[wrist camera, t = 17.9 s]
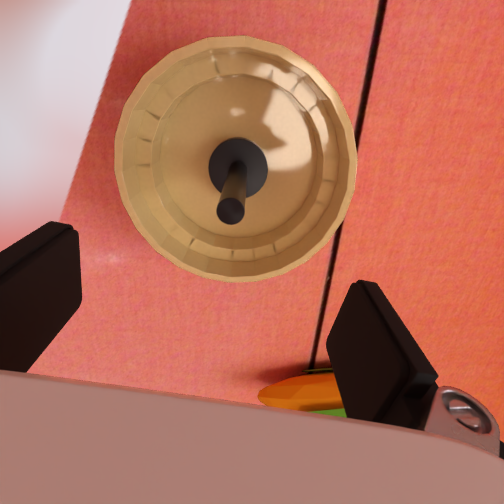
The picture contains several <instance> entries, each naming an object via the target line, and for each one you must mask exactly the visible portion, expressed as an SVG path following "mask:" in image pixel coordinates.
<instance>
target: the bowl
mask: <svg viewBox="0 0 504 504" xmlns="http://www.w3.org/2000/svg"><path fill="white" fill-rule="evenodd" d="M233 137H243V138H247V139H249V140H252V141H253V142H255V143H256V144H257V145H258V146H259V147H260V148H261V149H262V151H263V152H264V154H265V157H266V160H267V164H268V174H267V179H266V181H265V183H264V185H263V187H262V188H261V189H260V190H259V191H258V192H257V193H256V194H254V195H253V196H251V197H248V198H246V200H245V215H244V217H243V219H242V220H241V221H240V222H239V223H237V224H234V225H228V224H225V223H223V222H221V221H220V220H219V218H218V216H217V213H216V208H217V205H218V202H219V199H220V196H221V193H220V192H219V191H218V190H217V189H216V188H215V187H214V185H213V184H212V182H211V180H210V176H209V171H208V165H209V160H210V157H211V155H212V153H213V151H214V150H215V148H216V147H217V146H218V145H219V144H220V143H221V142H223V141H225V140H227V139H229V138H233ZM357 161H358V160H357V152H356V145H355V139H354V132H353V127H352V123H351V121H350V119H349V117H348V115H347V112H346V110H345V108H344V106H343V104H342V101H341V99H340V97H339V95H338V93H337V92H336V90H335V89H334V88H333V87H332V86H331V85H330V83H329V82H328V81H327V80H326V79H325V78H324V76H323V75H322V74H321V73H320V72H319V71H318V69H317V68H316V67H315V66H314V65H313V64H311V63H310V62H308V61H306V60H305V59H303V58H302V57H300V56H299V55H297V54H295V53H294V52H292V51H291V50H289V49H288V48H286V47H284V46H283V45H282V46H281V45H280V44H276V43H273V42H269V41H265V40H261V39H258V38H254V37H250V36H245V35H238V36H220V37H207V38H204V39H201V40H199V41H196V42H194V43H191V44H189V45H186V46H184V47H181V48H178V49H176V50H173V51H172V52H170V53H169V54H168V55H166V56H165V57H164V58H163V59H162V60H160V61H159V62H158V63H157V64H156V65H154V66H153V67H152V68H151V69H150V70H148V71H147V72H146V73H145V74H144V75H143V76H142V78H141V79H140V81H139V82H138V84H137V85H136V87H135V88H134V90H133V92H132V93H131V95H130V96H129V98H128V99H127V101H126V102H125V104H124V106H123V110H122V113H121V117H120V120H119V124H118V127H117V131H116V134H115V139H114V173H115V177H116V181H117V185H118V189H119V192H120V196H121V200H122V203H123V205H124V207H125V209H126V211H127V213H128V214H129V216H130V218H131V220H132V222H133V224H134V226H135V228H137V230H138V231H139V233H140V234H141V235H142V236H143V237H144V238H145V239H146V241H147V242H148V243H149V244H150V245H151V246H152V247H153V248H154V250H156V252H158V253H159V254H161V255H162V256H163V257H165V258H166V259H168V260H169V261H170V262H172V263H173V264H175V265H176V266H177V267H179V268H181V269H184V270H186V271H189V272H191V273H193V274H196V275H198V276H200V277H203V278H207V279H212V280H218V281H223V282H229V283H234V282H256V281H260V280H264V279H268V278H272V277H275V276H279V275H282V274H284V273H286V272H288V271H290V270H292V269H294V268H296V267H298V266H299V265H301V264H303V263H305V262H306V261H308V260H309V259H310V258H311V257H312V256H313V255H314V254H315V253H317V252H318V251H319V250H320V249H321V248H322V247H323V246H324V245H326V244H327V242H328V241H329V240H330V238H331V237H332V235H333V234H334V232H335V231H336V229H337V228H338V227H339V225H340V224H341V222H342V221H343V219H344V217H345V214H346V212H347V209H348V206H349V204H350V201H351V198H352V196H353V193H354V188H355V179H356V170H357Z"/></svg>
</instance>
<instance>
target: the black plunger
mask: <svg viewBox="0 0 504 504" xmlns="http://www.w3.org/2000/svg"><path fill="white" fill-rule="evenodd" d="M208 171H209V176H210V180H211V182H212V184H213V185H214V187H215V188H216V189H217V190H218V191H219V192H220V193H221V196H220V199H219V202H218V205H217V208H216V213H217V216H218V218H219V220H220V221H221V222H223V223H225V224H228V225H234V224H237V223H239V222H240V221H241V220H242V219H243V217H244V215H245V200H246V198H248V197H251V196H253V195H254V194H256V193H257V192H258V191H259V190H260V189H261V188H262V187H263V185H264V183H265V181H266V179H267V174H268V164H267V160H266V157H265V154H264V152H263V151H262V149H261V148H260V147H259V146H258V145H257V144H256V143H255V142H253V141H252V140H249V139H247V138H243V137H233V138H229V139H227V140H225V141H223V142H221V143H220V144H219V145H218V146H217V147H216V148H215V150H214V151H213V153H212V155H211V157H210V160H209V165H208Z"/></svg>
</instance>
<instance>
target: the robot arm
mask: <svg viewBox="0 0 504 504" xmlns="http://www.w3.org/2000/svg"><path fill="white" fill-rule="evenodd" d="M81 301H82V286H81V268H80V250H79V234H78V231H76V230H74V229H73V227H72V226H71V225H69V224H64V223H59V222H53V221H51V222H48V223H46V224H45V225H43V226H41V227H40V228H38V229H37V230H35V231H33V232H32V233H30V234H29V235H27V236H25V237H24V238H22V239H21V240H19V241H17V242H16V243H14V244H13V245H11V246H9V247H8V248H6V249H5V250H3V251H1V252H0V504H504V443H503V442H502V441H500V431H499V426H498V424H497V422H496V420H495V418H494V417H493V415H492V414H491V413H490V412H489V410H488V409H487V408H486V407H485V406H484V405H483V404H481V403H480V402H479V401H478V400H477V399H475V398H474V397H472V396H471V395H470V394H468V393H466V392H464V391H462V390H460V389H457V388H454V387H451V386H442V387H438V385H437V384H436V382H435V380H436V379H437V378H438V374H437V373H436V371H435V370H434V368H433V367H432V365H431V364H430V362H429V361H428V359H427V358H426V356H425V355H424V353H423V352H422V350H421V349H420V347H419V346H418V344H417V343H416V341H415V340H414V338H413V337H412V335H411V334H410V332H409V331H408V329H407V328H406V326H405V325H404V323H403V322H402V320H401V319H400V317H399V316H398V314H397V313H396V311H395V310H394V308H393V307H392V305H391V304H390V302H389V301H388V299H387V298H386V296H385V295H384V293H383V292H382V290H381V289H380V287H379V286H378V284H377V283H375V282H369V281H364V280H358V281H357V282H356V283H352V284H351V286H350V288H349V290H348V293H347V295H346V297H345V299H344V302H343V304H342V306H341V308H340V311H339V313H338V315H337V317H336V320H335V322H334V324H333V326H332V329H331V331H330V333H329V335H328V338H327V341H326V348H327V352H328V355H329V359H330V362H331V366H332V369H333V372H334V376H335V379H336V382H337V386H338V389H339V393H340V396H341V399H342V403H343V406H344V409H345V413H346V416H347V418H345V417H338V416H331V415H324V414H318V413H311V412H304V411H297V410H290V409H283V408H277V407H270V406H263V405H256V404H249V403H242V402H235V401H228V400H221V399H214V398H207V397H200V396H192V395H185V394H178V393H171V392H164V391H157V390H149V389H142V388H135V387H128V386H120V385H113V384H105V383H98V382H91V381H83V380H76V379H68V378H61V377H53V376H46V375H39V374H31V373H26V372H27V371H28V370H29V368H30V367H31V366H32V365H33V364H34V362H35V361H36V360H37V359H38V357H39V356H40V355H41V354H42V352H43V351H44V350H45V349H46V348H47V346H48V345H49V344H50V343H51V341H52V340H53V339H54V338H55V336H56V335H57V334H58V333H59V332H60V330H61V329H62V328H63V327H64V325H65V324H66V323H67V322H68V320H69V319H70V318H71V317H72V316H73V314H74V313H75V312H76V311H77V309H78V308H79V307H80V304H81Z"/></svg>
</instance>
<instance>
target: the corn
mask: <svg viewBox="0 0 504 504" xmlns="http://www.w3.org/2000/svg"><path fill="white" fill-rule="evenodd" d="M315 371H323V372H325V373H313V374H308V375H303V376H297V377H292V378H288V379H285V380H283V381H280V382H277V383H275V384H272V385H270V386H267V387H265V388H264V389H262V390H260V391H259V394H258V396H257V397H258V399H259V400H260V402H262V403H263V404H265V405H266V406H270V407H277V408H283V409H290V410H297V411H304V412H311V413H318V414H324V415H331V416H338V417H345V418H347V416H346V413H345V409H344V406H343V403H342V399H341V396H340V393H339V389H338V386H337V382H336V379H335V376H334V372H333V369H332V368H322V369H312V370H303V371H302V372H315Z"/></svg>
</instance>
